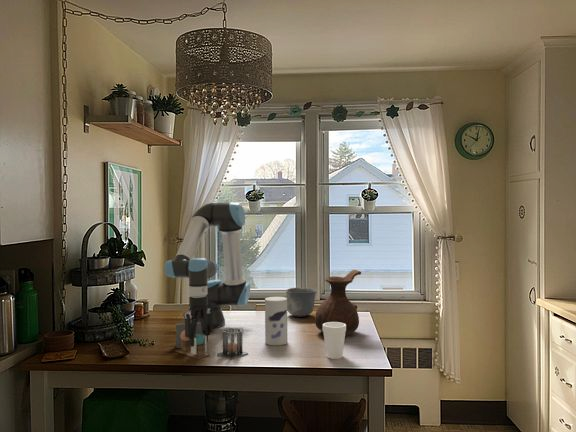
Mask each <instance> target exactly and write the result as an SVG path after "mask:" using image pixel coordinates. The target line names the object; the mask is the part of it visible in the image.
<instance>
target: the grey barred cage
mask: <svg viewBox="0 0 576 432" xmlns="http://www.w3.org/2000/svg"><path fill="white" fill-rule="evenodd" d="M229 331H231V332H229ZM235 331H236V332H235ZM221 333H222V351H220V352H219V353H217V354H216V355H217V356H220V357H222V358H226V359H229V360H234V359H237V358H241V357H244V356H247V355H249V353H248V352H245V351H243V329H241V328H236V327H235V328H233V327H232V328H225V329H223V330H222V332H221ZM229 335H230V343H231V353H229V352H228V350H227V346H228V344H229ZM235 335H236V344H237V352H236V353H233V342H235Z"/></svg>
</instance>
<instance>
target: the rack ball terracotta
mask: <svg viewBox="0 0 576 432" xmlns="http://www.w3.org/2000/svg"><path fill="white" fill-rule="evenodd" d="M180 337H181V339H182V340H183V341H189V340H190V339H189V338H187V337H185V331H183V332H182V333H181V335H180Z"/></svg>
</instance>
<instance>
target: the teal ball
mask: <svg viewBox="0 0 576 432" xmlns="http://www.w3.org/2000/svg"><path fill="white" fill-rule="evenodd" d="M195 338H196V345H202V344H203V343H204V336H203V335H202V334H196V335H195Z"/></svg>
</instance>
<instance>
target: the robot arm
mask: <svg viewBox="0 0 576 432" xmlns="http://www.w3.org/2000/svg"><path fill="white" fill-rule="evenodd" d="M245 224H246V214H245V209H244V207H243V205H242V204H241V203H239V202H209V203H206V204H204V205H202V206H201V207H199V208H198V209H197V210H196V211H195V212H194V214H193V215H192V216H191V218H190V220H189V227H188V229H187V231H186V234H185V236H184V238H183V240H182V241H181V244H180V246H179V248H178V250H177V252H176V253H175V254H176V255H175V256H174V259H169V260H166V262H165V264H164V273H165V276H166V277H168V278H175V279H177V278H181V279H182V278H183V279H184V278H185V279H188V295H189V297H188V305H189V309H188V312H186V313H185V312H184V313H183V318H184V323H185V337H187V338H189V339H190V346H191V354H194V355H196V354H197V353H196V338H195V333H196V327H197V323H201V327H202V332H203V336H204V343H203V344H204V353H206V352H207V351H208V349H207V348H208V346H207V345H208V342H209V336H210V334H211V333H213V329H215V328H221V327H224V326H225V325H226V319H225V317H224V313H223V309H222V306H226V307H227V306H229V307H231V306H233V307H241V306H243V307H244V306H246V305H247V303H248V302H249V298H250V295H251V284H250V283H249V282H247V279H246V278H245V276H243V264H242V251H241V235H240V232H241V231H242V230H243V226H245ZM210 227H218V231H219V232H220V233H221V235H222V236H221V237H222V246H223V247H222V248H223V261H224V273H225V278H224V279H223V281H222V279H211V280H208V279H210V278H212V277H214V276H216V274H217V273H218V271H219V268H218V264H217V263H216V261H214V260H212V259H206V257H196V258H195V255H196V253H197V251H198V248H199V245H200V243H201V241H202V239H203V237H204V234H205V233H206V231H208V230H209V228H210Z"/></svg>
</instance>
